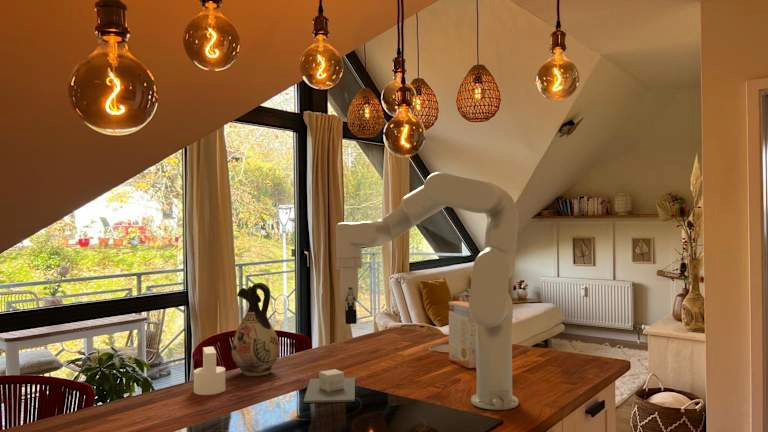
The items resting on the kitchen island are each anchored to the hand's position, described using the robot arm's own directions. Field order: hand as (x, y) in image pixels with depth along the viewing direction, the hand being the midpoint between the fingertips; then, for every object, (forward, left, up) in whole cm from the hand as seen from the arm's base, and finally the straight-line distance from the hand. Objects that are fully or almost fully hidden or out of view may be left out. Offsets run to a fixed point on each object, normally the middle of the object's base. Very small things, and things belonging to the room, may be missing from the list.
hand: (351, 321), depth 175 cm
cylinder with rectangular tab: (+1, +42, -20) cm, 47 cm away
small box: (-2, +6, -20) cm, 21 cm away
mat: (-2, +6, -20) cm, 21 cm away
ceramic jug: (+19, +31, -20) cm, 42 cm away
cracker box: (+26, -39, -20) cm, 51 cm away
